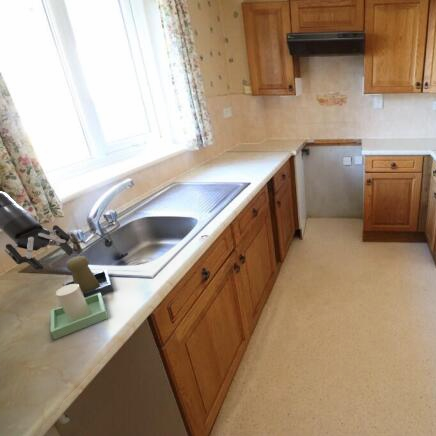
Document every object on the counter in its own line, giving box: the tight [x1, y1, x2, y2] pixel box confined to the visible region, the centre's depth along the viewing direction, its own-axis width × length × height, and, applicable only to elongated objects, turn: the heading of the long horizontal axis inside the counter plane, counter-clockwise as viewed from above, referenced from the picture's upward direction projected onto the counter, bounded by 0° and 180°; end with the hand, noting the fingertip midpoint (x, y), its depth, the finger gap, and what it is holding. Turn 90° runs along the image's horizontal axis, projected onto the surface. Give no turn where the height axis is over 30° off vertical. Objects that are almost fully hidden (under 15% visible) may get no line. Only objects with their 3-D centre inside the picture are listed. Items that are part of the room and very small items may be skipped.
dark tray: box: [62, 269, 115, 298], centre depth 98 cm, size 12×11×2 cm
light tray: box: [49, 293, 109, 340], centre depth 87 cm, size 12×11×2 cm
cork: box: [65, 255, 100, 293], centre depth 96 cm, size 6×6×11 cm
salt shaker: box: [55, 284, 91, 322], centre depth 85 cm, size 5×5×9 cm
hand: (57, 261), depth 97 cm, fingers open, 8 cm apart
